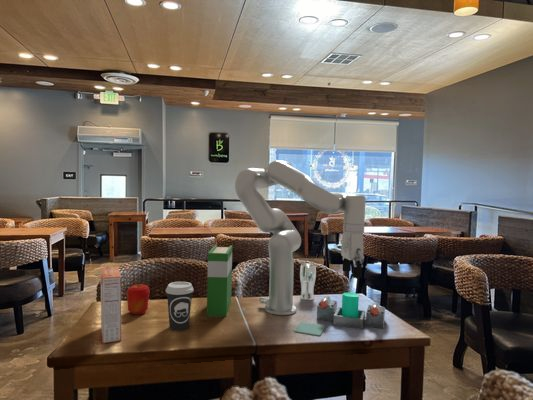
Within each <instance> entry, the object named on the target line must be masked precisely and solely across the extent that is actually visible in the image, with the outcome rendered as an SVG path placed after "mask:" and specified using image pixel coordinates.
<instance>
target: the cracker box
mask: <svg viewBox="0 0 533 400" xmlns="http://www.w3.org/2000/svg"><path fill="white" fill-rule="evenodd" d="M100 323H101V325H100V326H101V339H102V341H101V342H102V344H109V343H114V342H115V343H116V342H121V341H122V275H121V272H120V268H119V266H111V267H108V266H107V267H101V268H100Z"/></svg>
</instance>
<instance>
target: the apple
mask: <svg viewBox="0 0 533 400" xmlns="http://www.w3.org/2000/svg"><path fill="white" fill-rule="evenodd" d="M150 292H151V291H150V288H149V285H146V284H143V283H140V282H138V283H137V284H132V285H131V286H130V287H128V288H127V290H126V300H127V311H128V312H129V313H130V314H132V315H135V316H137V315H138V316H139V315H143V314H145V313H146V312H147V310H148V309H149V298H150Z"/></svg>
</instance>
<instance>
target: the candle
mask: <svg viewBox="0 0 533 400" xmlns="http://www.w3.org/2000/svg"><path fill="white" fill-rule="evenodd" d="M341 294H342V298H341V307H342V316H347V317H354V318H358V310H359V300H360V299H359V294H357V293H355V292H352V291H350V292H344V293H341Z"/></svg>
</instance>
